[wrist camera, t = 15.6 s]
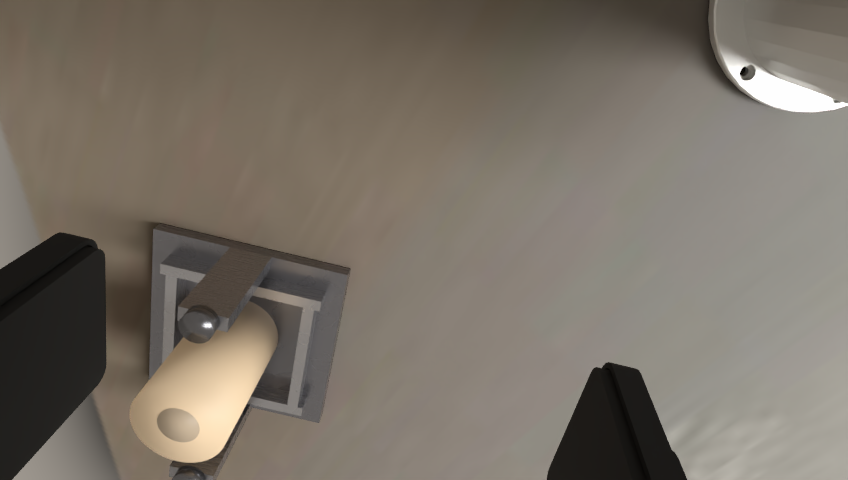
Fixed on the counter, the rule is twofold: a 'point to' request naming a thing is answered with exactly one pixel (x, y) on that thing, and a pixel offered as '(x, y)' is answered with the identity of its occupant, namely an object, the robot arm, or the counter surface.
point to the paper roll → (204, 389)
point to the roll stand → (221, 305)
